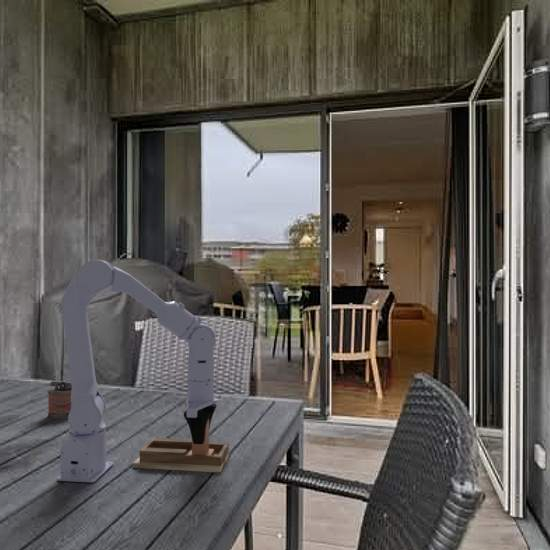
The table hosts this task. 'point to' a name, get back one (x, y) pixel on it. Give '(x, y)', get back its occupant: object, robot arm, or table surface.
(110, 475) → the table surface
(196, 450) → the key peg
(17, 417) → the table surface
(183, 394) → the table surface
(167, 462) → the keyhole board
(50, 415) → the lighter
